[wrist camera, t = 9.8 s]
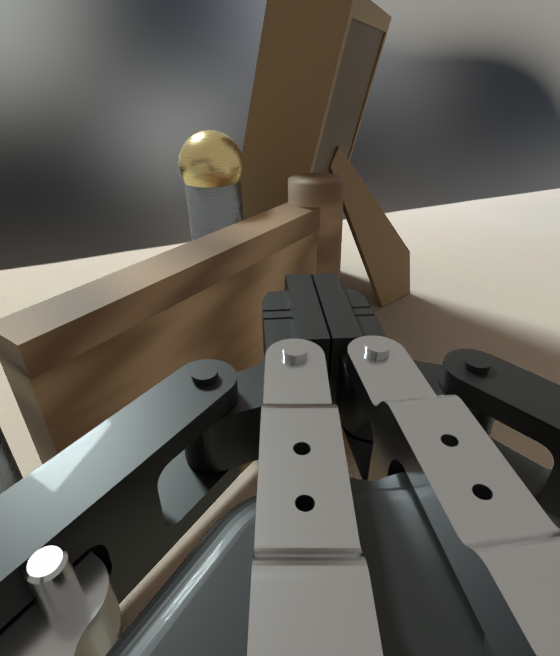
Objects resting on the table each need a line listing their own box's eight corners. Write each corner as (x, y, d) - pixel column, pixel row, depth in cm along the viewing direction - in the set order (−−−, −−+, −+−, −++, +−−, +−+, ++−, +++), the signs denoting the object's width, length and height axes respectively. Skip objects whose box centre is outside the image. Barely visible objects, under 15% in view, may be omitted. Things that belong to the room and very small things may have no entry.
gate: (123, 614, 19) (14, 316, 12) (82, 574, 21) (-37, 288, 14) (342, 389, 32) (354, 176, 25) (306, 374, 34) (307, 170, 26)
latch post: (182, 410, 32) (134, 134, 23) (230, 373, 36) (206, 121, 26) (238, 440, 29) (210, 141, 20) (285, 397, 33) (279, 127, 24)
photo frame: (211, 361, 37) (170, -27, 24) (284, 261, 55) (283, 7, 42) (398, 393, 33) (468, -45, 21) (411, 274, 51) (453, 1, 38)
